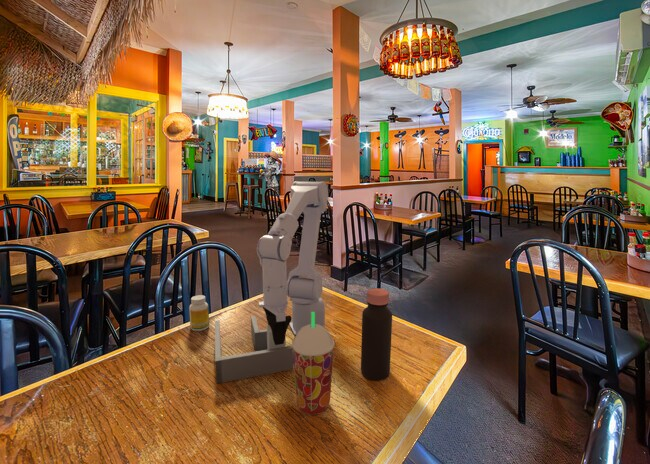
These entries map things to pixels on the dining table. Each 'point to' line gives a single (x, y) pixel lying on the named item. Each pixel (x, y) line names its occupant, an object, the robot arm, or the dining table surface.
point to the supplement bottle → (199, 313)
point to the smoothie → (313, 367)
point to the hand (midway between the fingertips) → (276, 336)
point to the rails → (251, 358)
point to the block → (270, 340)
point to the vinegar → (376, 335)
